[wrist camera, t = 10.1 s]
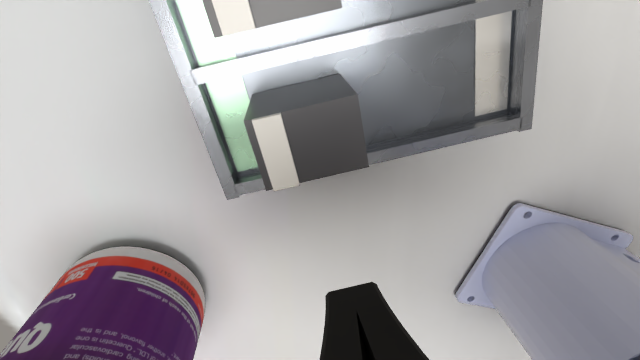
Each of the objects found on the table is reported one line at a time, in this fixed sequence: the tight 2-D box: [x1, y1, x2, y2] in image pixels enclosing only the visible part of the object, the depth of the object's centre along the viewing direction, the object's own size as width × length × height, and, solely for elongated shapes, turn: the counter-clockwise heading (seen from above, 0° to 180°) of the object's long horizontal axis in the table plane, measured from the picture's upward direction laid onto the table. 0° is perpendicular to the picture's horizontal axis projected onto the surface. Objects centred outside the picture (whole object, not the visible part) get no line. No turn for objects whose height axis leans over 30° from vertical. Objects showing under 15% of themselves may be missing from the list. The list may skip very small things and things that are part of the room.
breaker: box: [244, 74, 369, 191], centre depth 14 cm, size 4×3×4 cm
